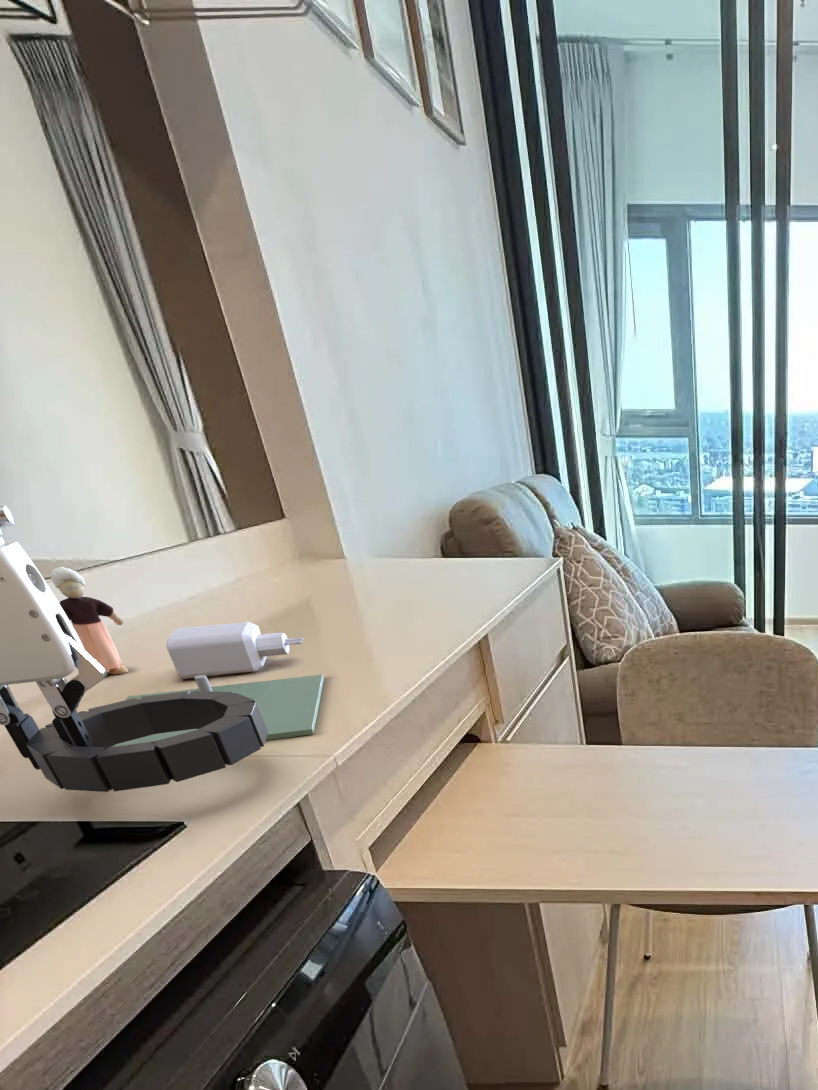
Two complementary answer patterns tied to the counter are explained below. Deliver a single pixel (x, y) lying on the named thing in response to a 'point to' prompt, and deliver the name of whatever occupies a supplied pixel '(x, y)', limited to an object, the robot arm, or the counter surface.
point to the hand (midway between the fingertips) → (64, 759)
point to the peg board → (265, 705)
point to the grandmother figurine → (88, 619)
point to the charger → (224, 649)
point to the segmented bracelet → (220, 740)
